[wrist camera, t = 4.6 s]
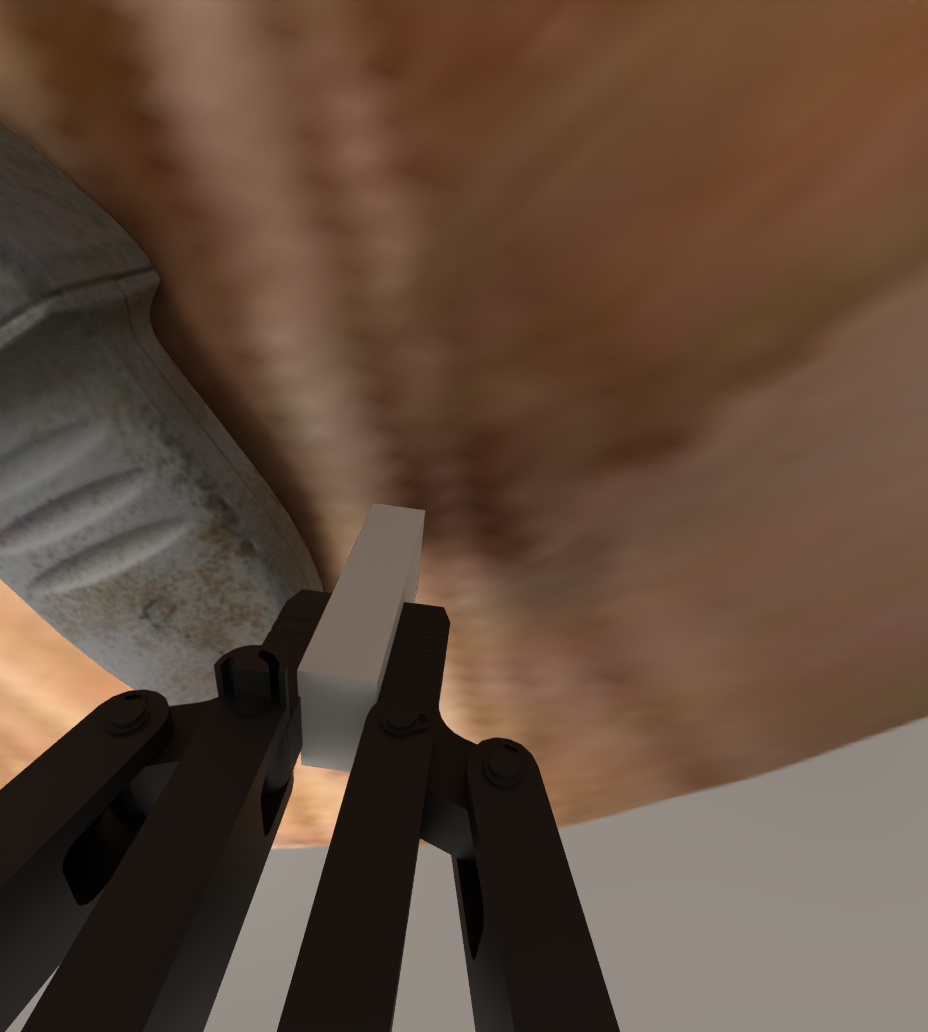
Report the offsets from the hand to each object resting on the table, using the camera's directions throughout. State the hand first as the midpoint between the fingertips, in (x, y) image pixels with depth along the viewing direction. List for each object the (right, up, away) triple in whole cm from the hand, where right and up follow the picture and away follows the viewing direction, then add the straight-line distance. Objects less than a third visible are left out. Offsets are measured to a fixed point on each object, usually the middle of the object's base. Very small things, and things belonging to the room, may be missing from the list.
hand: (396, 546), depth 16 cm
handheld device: (-8, +2, +2) cm, 9 cm away
